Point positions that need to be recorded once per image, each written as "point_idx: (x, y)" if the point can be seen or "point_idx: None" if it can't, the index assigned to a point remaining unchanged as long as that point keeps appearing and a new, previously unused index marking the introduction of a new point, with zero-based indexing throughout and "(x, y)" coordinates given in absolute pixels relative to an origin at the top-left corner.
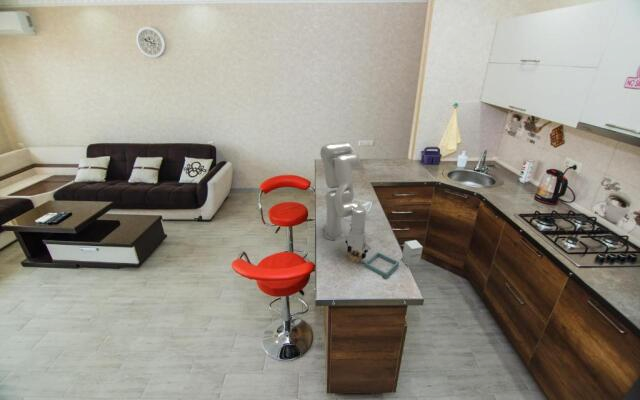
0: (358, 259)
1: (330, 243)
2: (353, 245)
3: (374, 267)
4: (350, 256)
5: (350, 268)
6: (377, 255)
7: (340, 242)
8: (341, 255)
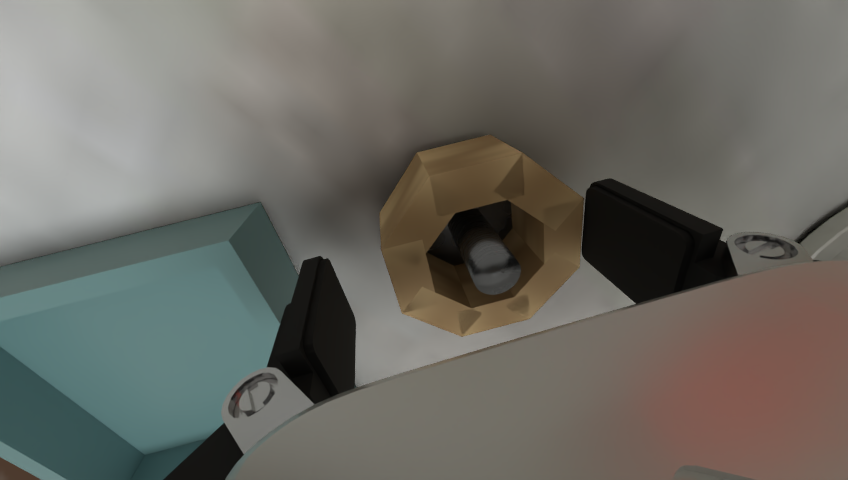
0: (385, 223)
1: (842, 159)
2: (683, 409)
3: (54, 296)
4: (502, 151)
5: (343, 10)
6: None
7: None
8: (629, 117)
